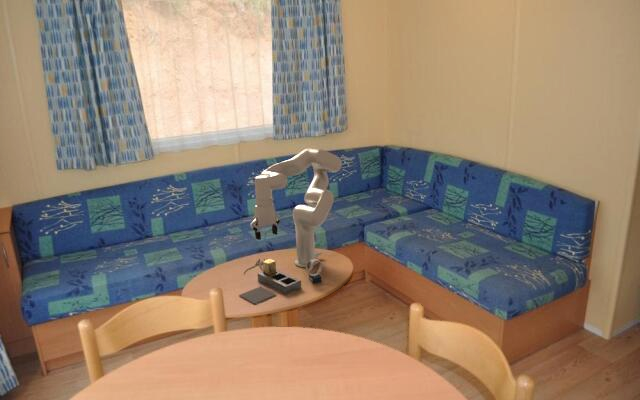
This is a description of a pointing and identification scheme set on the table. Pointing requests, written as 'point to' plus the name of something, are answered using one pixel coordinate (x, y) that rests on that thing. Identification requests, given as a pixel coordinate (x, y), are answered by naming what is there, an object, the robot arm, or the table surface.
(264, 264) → the tan rectangular block
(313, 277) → the watch
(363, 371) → the table surface
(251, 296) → the mat
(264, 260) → the pliers
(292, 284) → the grey compartment tray
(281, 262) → the table surface
